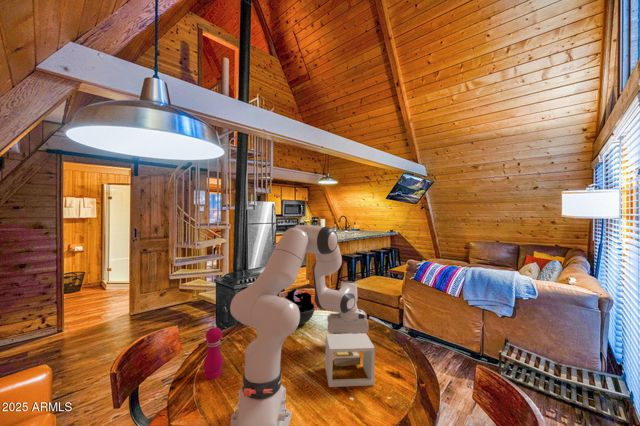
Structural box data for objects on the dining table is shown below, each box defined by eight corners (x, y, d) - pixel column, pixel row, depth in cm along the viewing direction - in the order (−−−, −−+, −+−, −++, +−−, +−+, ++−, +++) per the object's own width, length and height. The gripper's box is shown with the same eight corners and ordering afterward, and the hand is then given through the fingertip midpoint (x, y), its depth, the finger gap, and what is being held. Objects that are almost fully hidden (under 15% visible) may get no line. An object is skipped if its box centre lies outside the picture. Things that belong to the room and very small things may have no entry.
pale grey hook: (363, 364, 113) (363, 357, 113) (334, 365, 112) (334, 358, 112) (345, 331, 148) (345, 325, 148) (324, 331, 147) (324, 326, 147)
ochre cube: (348, 366, 114) (349, 354, 114) (337, 366, 114) (337, 354, 114) (346, 359, 119) (346, 348, 119) (335, 360, 118) (335, 348, 119)
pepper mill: (215, 381, 102) (217, 329, 102) (199, 378, 103) (200, 327, 103) (226, 370, 109) (227, 321, 109) (210, 368, 110) (211, 319, 110)
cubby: (374, 385, 101) (374, 347, 102) (328, 387, 100) (329, 349, 100) (365, 366, 114) (366, 333, 114) (325, 367, 112) (325, 334, 112)
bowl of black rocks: (313, 331, 147) (314, 297, 147) (277, 330, 147) (278, 296, 147) (314, 317, 167) (315, 287, 167) (283, 316, 167) (283, 286, 167)
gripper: (328, 316, 128) (327, 344, 128) (369, 315, 130) (369, 343, 130) (326, 311, 134) (326, 338, 134) (366, 310, 136) (365, 337, 136)
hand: (347, 341), depth 132 cm, fingers closed on pale grey hook, 2 cm apart
